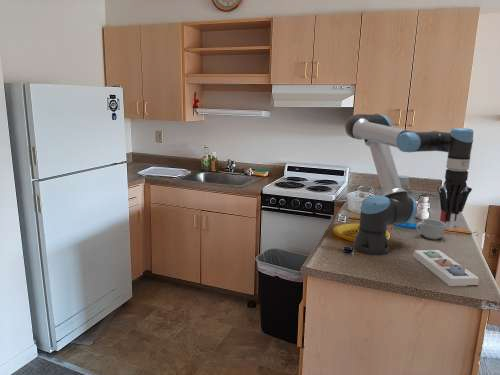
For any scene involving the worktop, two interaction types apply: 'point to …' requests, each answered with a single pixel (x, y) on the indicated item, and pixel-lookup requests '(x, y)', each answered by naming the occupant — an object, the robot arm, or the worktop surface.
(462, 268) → the two pip button
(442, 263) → the three pip button
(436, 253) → the one pip button
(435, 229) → the teacup
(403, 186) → the water bottle
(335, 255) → the worktop surface
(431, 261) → the button panel
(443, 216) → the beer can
